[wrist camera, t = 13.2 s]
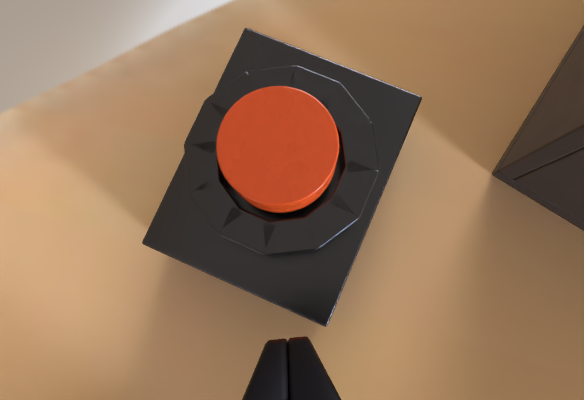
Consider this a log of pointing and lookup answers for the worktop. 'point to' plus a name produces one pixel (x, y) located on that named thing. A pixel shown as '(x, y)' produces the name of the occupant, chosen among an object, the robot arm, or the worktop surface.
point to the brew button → (278, 148)
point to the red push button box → (293, 225)
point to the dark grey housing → (553, 143)
